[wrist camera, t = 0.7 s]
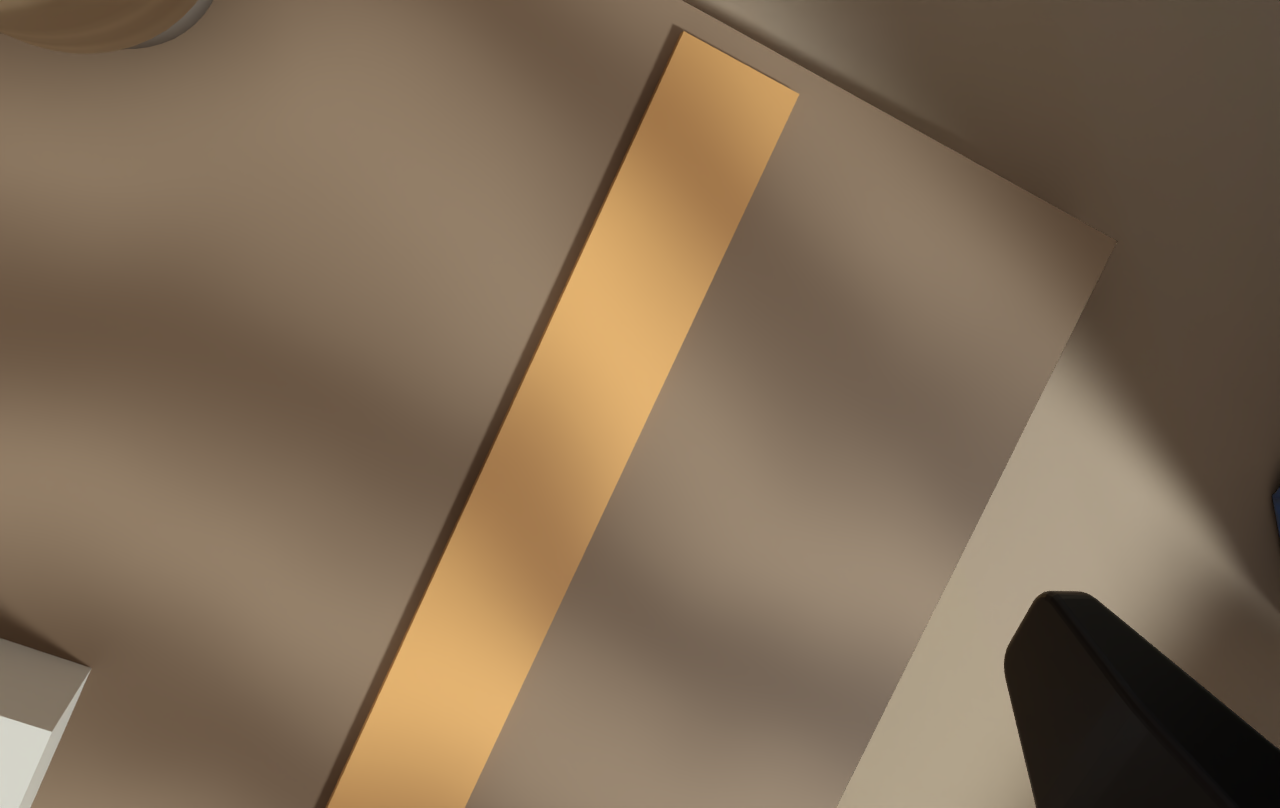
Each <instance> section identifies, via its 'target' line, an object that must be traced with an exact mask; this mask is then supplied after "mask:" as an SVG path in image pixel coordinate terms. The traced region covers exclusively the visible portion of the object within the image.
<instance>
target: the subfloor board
mask: <svg viewBox="0 0 1280 808" xmlns="http://www.w3.org/2000/svg"><path fill="white" fill-rule="evenodd" d="M1116 243H1117V240H1115V239H1113V238H1111V237H1109V236H1107V235H1106V234H1104V233H1102V232H1100V231H1098V230H1097V229H1095V228H1093V227H1091V226H1089V225H1088V224H1086V223H1084V222H1082V221H1080V220H1079V219H1077V218H1075V217H1073V216H1071V215H1070V214H1068V213H1066V212H1064V211H1062V210H1060V209H1059V208H1057V207H1055V206H1053V205H1051V204H1050V203H1048V202H1046V201H1044V200H1042V199H1041V198H1039V197H1037V196H1035V195H1033V194H1032V193H1030V192H1028V191H1026V190H1024V189H1022V188H1021V187H1019V186H1017V185H1015V184H1013V183H1012V182H1010V181H1008V180H1006V179H1004V178H1003V177H1001V176H999V175H997V174H995V173H994V172H992V171H990V170H988V169H986V168H985V167H983V166H981V165H979V164H977V163H975V162H974V161H972V160H970V159H968V158H966V157H965V156H963V155H961V154H959V153H957V152H956V151H954V150H952V149H950V148H948V147H947V146H945V145H943V144H941V143H939V142H938V141H936V140H934V139H932V138H930V137H928V136H927V135H925V134H923V133H921V132H919V131H918V130H916V129H914V128H912V127H910V126H909V125H907V124H905V123H903V122H901V121H900V120H898V119H896V118H894V117H892V116H890V115H889V114H887V113H885V112H883V111H881V110H880V109H878V108H876V107H874V106H872V105H871V104H869V103H867V102H865V101H863V100H862V99H860V98H858V97H856V96H854V95H853V94H851V93H849V92H847V91H845V90H843V89H842V88H840V87H838V86H836V85H834V84H833V83H831V82H829V81H827V80H825V79H824V78H822V77H820V76H818V75H816V74H815V73H813V72H811V71H809V70H807V69H806V68H804V67H802V66H800V65H798V64H796V63H795V62H793V61H791V60H789V59H787V58H786V57H784V56H782V55H780V54H778V53H777V52H775V51H773V50H771V49H769V48H768V47H766V46H764V45H762V44H760V43H758V42H757V41H755V40H753V39H751V38H749V37H748V36H746V35H744V34H742V33H740V32H739V31H737V30H735V29H733V28H731V27H730V26H728V25H726V24H724V23H722V22H721V21H719V20H717V19H715V18H713V17H711V16H710V15H708V14H706V13H704V12H702V11H701V10H699V9H697V8H695V7H693V6H692V5H690V4H688V3H686V2H684V1H683V0H213V2H212V4H211V5H210V7H209V8H208V10H207V11H206V12H205V14H204V15H203V16H202V17H201V18H200V19H199V21H198V22H197V23H196V24H195V25H193V26H192V27H191V28H190V29H188V30H187V31H186V32H185V33H183V34H181V35H179V36H178V37H176V38H174V39H172V40H170V41H167V42H165V43H162V44H159V45H155V46H151V47H147V48H138V49H121V50H117V51H113V52H104V53H95V54H76V53H66V52H59V51H52V50H48V49H44V48H41V47H37V46H33V45H30V44H28V43H25V42H23V41H20V40H17V39H15V38H12V37H10V36H7V35H5V34H3V33H0V638H2V639H5V640H8V641H11V642H14V643H17V644H20V645H23V646H26V647H29V648H32V649H35V650H38V651H41V652H44V653H47V654H50V655H53V656H56V657H59V658H62V659H66V660H69V661H72V662H75V663H78V664H81V665H84V666H87V667H90V668H91V670H90V673H89V675H88V677H87V679H86V682H85V684H84V686H83V689H82V691H81V693H80V695H79V698H78V700H77V702H76V705H75V707H74V709H73V711H72V714H71V716H70V718H69V721H68V723H67V725H66V727H65V730H64V732H63V734H62V737H61V739H60V741H59V743H58V746H57V748H56V750H55V753H54V755H53V757H52V759H51V762H50V764H49V766H48V769H47V771H46V773H45V776H44V778H43V780H42V782H41V785H40V787H39V789H38V792H37V794H36V796H35V798H34V801H33V803H32V805H31V808H836V807H837V805H838V803H839V801H840V799H841V797H842V795H843V793H844V791H845V789H846V787H847V785H848V783H849V781H850V779H851V777H852V775H853V773H854V771H855V769H856V767H857V765H858V763H859V761H860V759H861V757H862V755H863V753H864V751H865V749H866V747H867V745H868V743H869V741H870V739H871V737H872V735H873V733H874V731H875V729H876V727H877V725H878V722H879V720H880V718H881V716H882V714H883V712H884V710H885V708H886V706H887V704H888V702H889V700H890V698H891V696H892V694H893V692H894V690H895V688H896V686H897V684H898V682H899V680H900V678H901V676H902V674H903V672H904V670H905V668H906V666H907V664H908V662H909V660H910V658H911V656H912V654H913V652H914V650H915V648H916V646H917V644H918V642H919V640H920V638H921V636H922V634H923V632H924V630H925V628H926V626H927V624H928V622H929V620H930V618H931V616H932V614H933V612H934V610H935V608H936V606H937V604H938V602H939V600H940V598H941V596H942V594H943V592H944V590H945V588H946V585H947V583H948V581H949V579H950V577H951V575H952V573H953V571H954V569H955V567H956V565H957V563H958V561H959V559H960V557H961V555H962V553H963V551H964V549H965V547H966V545H967V543H968V541H969V539H970V537H971V535H972V533H973V531H974V529H975V527H976V525H977V523H978V521H979V519H980V517H981V515H982V513H983V511H984V509H985V507H986V505H987V503H988V501H989V499H990V497H991V495H992V493H993V491H994V489H995V487H996V485H997V483H998V481H999V479H1000V477H1001V475H1002V473H1003V471H1004V469H1005V467H1006V465H1007V463H1008V461H1009V459H1010V457H1011V455H1012V453H1013V451H1014V448H1015V446H1016V444H1017V442H1018V440H1019V438H1020V436H1021V434H1022V432H1023V430H1024V428H1025V426H1026V424H1027V422H1028V420H1029V418H1030V416H1031V414H1032V412H1033V410H1034V408H1035V406H1036V404H1037V402H1038V400H1039V398H1040V396H1041V394H1042V392H1043V390H1044V388H1045V386H1046V384H1047V382H1048V380H1049V378H1050V376H1051V374H1052V372H1053V370H1054V368H1055V366H1056V364H1057V362H1058V360H1059V358H1060V356H1061V354H1062V352H1063V350H1064V348H1065V346H1066V344H1067V342H1068V340H1069V338H1070V336H1071V334H1072V332H1073V330H1074V328H1075V326H1076V324H1077V322H1078V320H1079V318H1080V316H1081V314H1082V311H1083V309H1084V307H1085V305H1086V303H1087V301H1088V299H1089V297H1090V295H1091V293H1092V291H1093V289H1094V287H1095V285H1096V283H1097V281H1098V279H1099V277H1100V275H1101V273H1102V271H1103V269H1104V267H1105V265H1106V263H1107V261H1108V259H1109V257H1110V255H1111V253H1112V251H1113V249H1114V247H1115V245H1116Z"/></svg>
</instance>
